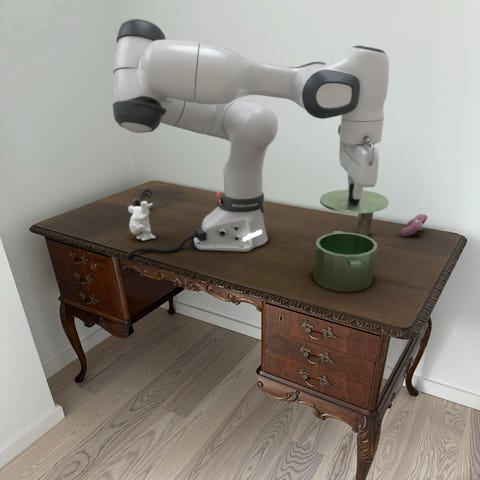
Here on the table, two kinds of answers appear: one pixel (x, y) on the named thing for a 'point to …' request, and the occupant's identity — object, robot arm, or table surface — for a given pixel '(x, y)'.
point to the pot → (344, 261)
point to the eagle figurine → (143, 198)
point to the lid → (354, 201)
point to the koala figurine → (141, 221)
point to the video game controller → (414, 225)
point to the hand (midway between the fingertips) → (354, 195)
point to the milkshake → (364, 223)
